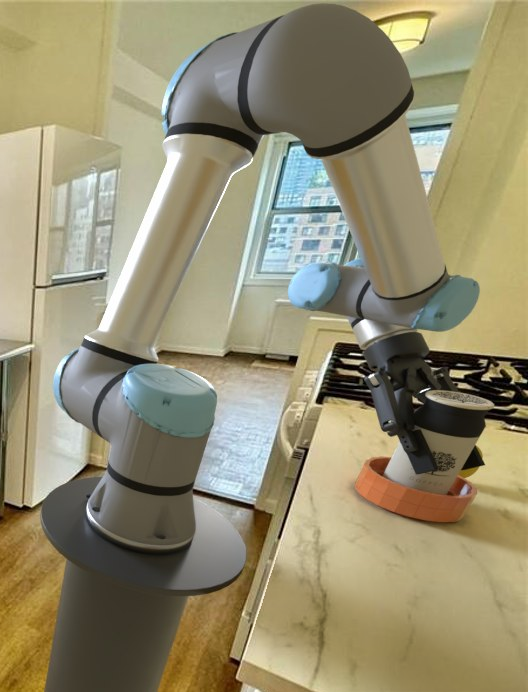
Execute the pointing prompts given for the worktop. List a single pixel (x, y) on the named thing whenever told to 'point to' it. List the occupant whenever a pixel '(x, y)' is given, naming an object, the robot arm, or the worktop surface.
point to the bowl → (413, 495)
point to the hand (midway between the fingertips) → (450, 469)
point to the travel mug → (442, 439)
